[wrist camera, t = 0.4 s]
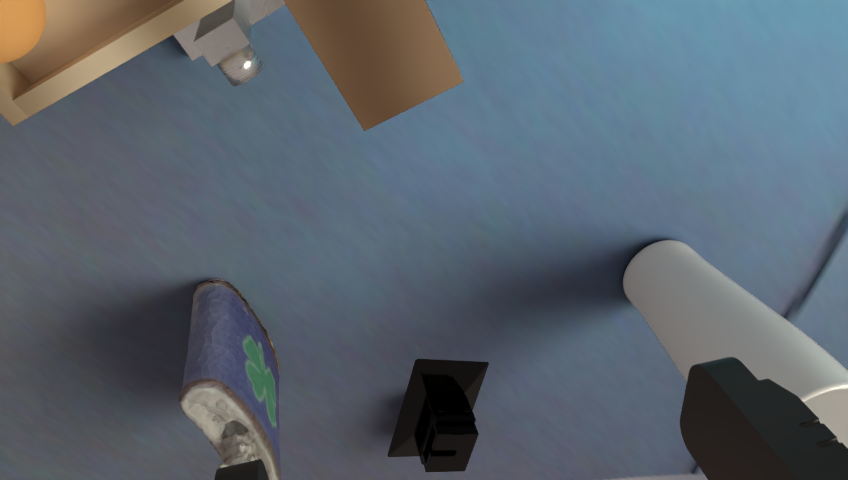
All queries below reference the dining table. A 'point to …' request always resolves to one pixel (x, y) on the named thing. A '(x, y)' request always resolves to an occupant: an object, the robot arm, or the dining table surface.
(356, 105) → the chute
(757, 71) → the dining table surface
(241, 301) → the flask
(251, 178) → the dining table surface
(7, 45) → the ball
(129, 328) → the dining table surface
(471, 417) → the black blocky device
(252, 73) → the stand
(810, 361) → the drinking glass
